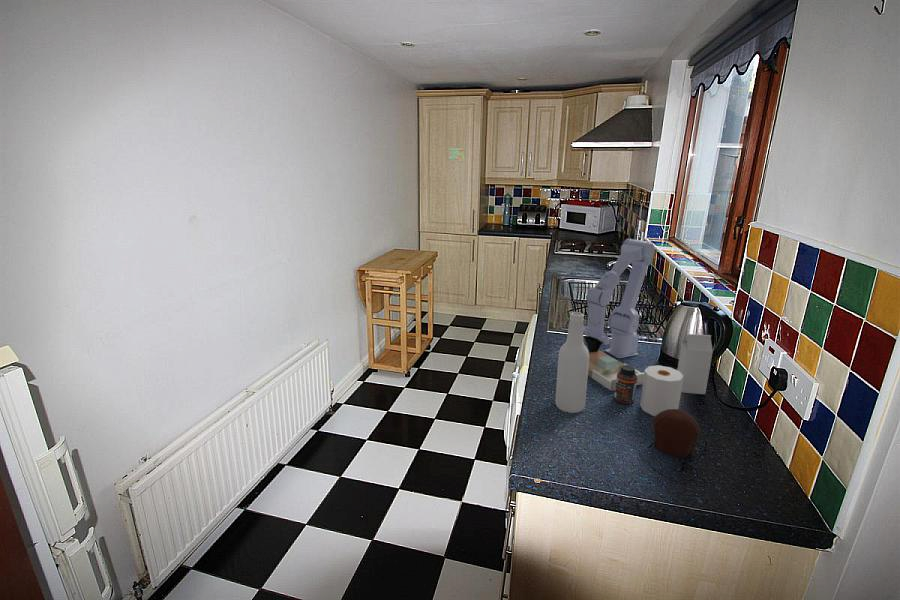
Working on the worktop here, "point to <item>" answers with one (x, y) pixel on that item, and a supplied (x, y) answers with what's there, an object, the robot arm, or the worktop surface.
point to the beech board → (598, 369)
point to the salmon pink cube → (596, 356)
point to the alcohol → (572, 368)
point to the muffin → (675, 432)
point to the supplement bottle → (625, 385)
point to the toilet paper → (660, 389)
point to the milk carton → (695, 363)
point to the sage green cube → (607, 363)
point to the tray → (613, 379)
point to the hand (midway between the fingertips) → (592, 355)
